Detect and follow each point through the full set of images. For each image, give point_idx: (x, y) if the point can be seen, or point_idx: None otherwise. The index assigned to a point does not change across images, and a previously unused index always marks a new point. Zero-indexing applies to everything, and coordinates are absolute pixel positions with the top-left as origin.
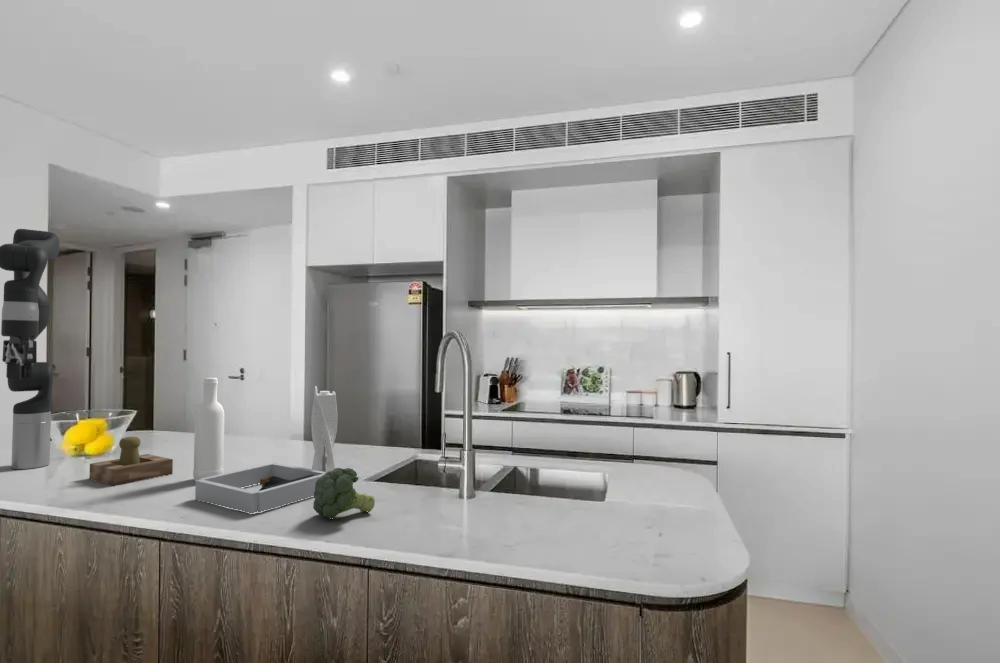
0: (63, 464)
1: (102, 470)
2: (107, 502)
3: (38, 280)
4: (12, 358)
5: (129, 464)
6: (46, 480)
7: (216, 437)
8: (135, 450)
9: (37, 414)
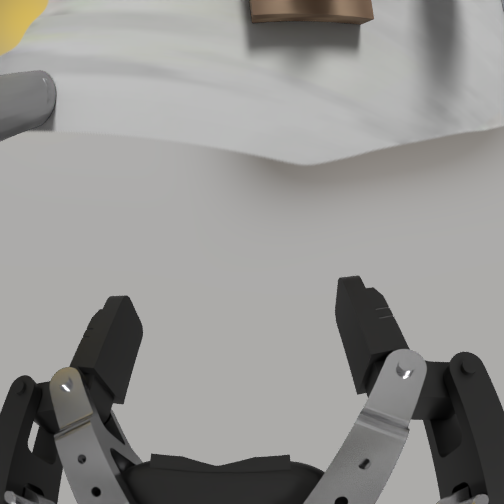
0: (55, 47)
1: (317, 15)
2: (452, 94)
3: None
4: (48, 414)
5: None
6: (189, 82)
7: None
8: None
9: None
